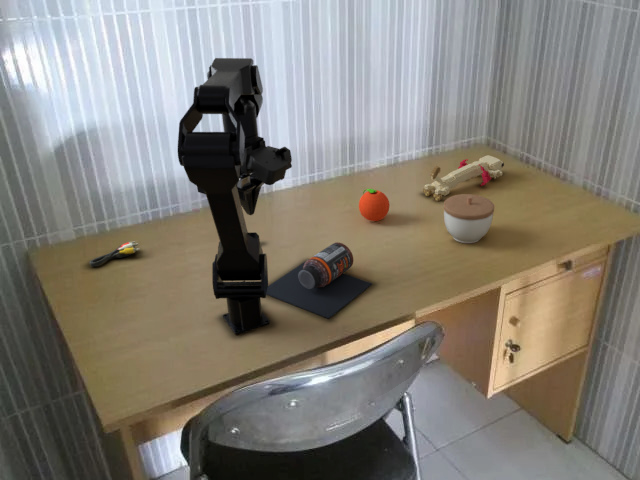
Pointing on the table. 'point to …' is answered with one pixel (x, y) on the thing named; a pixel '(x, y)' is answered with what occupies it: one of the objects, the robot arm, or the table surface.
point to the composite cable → (116, 253)
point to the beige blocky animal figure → (464, 175)
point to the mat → (317, 293)
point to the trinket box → (468, 217)
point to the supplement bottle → (326, 266)
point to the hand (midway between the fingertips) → (250, 214)
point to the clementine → (373, 205)
